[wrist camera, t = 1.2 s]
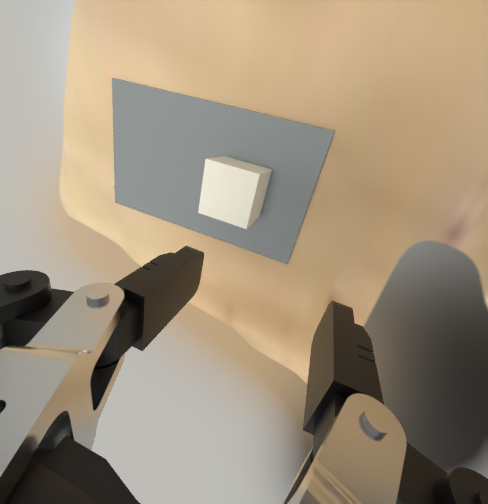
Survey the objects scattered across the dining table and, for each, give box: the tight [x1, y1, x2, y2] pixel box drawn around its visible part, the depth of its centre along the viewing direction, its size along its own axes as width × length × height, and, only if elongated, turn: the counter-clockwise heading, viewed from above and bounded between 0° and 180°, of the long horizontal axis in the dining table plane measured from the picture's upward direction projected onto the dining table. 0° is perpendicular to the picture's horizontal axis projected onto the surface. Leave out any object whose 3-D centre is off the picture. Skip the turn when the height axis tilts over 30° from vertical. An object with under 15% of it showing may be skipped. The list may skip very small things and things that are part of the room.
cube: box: [198, 156, 273, 229], centre depth 24 cm, size 5×5×5 cm
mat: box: [112, 78, 335, 264], centre depth 27 cm, size 24×14×1 cm, turn 77°
